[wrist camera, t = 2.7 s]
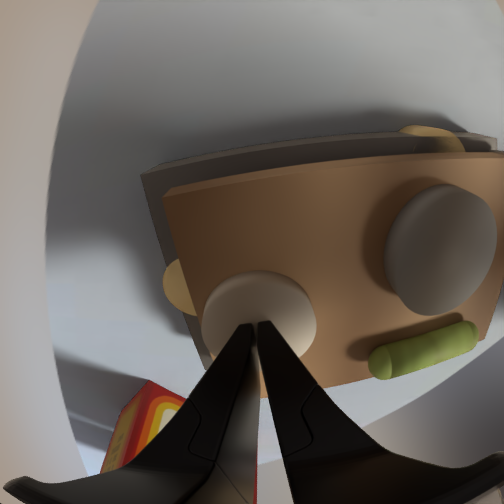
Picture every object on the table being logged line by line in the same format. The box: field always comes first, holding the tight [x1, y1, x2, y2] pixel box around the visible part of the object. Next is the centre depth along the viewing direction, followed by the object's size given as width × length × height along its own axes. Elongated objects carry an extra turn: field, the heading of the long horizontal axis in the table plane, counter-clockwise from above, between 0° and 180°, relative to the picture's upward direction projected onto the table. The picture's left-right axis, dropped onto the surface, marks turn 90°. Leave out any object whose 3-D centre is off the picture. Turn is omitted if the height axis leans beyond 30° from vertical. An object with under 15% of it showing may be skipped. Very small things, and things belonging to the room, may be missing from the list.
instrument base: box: [141, 125, 497, 370], centre depth 13 cm, size 16×11×2 cm
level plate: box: [162, 150, 504, 398], centre depth 10 cm, size 14×9×3 cm, turn 100°
